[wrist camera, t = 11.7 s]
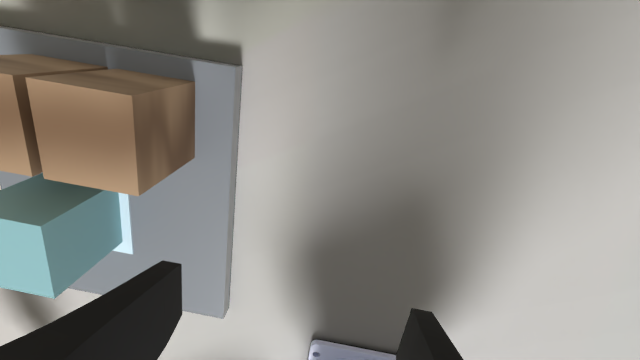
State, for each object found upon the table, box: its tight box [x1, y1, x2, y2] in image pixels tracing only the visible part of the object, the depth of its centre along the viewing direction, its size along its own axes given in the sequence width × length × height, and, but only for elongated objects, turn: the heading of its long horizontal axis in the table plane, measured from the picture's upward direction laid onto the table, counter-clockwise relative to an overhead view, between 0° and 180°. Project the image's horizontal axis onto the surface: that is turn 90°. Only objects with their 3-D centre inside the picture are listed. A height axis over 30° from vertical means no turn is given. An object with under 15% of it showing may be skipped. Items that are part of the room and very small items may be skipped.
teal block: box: [0, 173, 123, 299], centre depth 18 cm, size 4×4×5 cm
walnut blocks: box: [0, 54, 195, 196], centre depth 15 cm, size 4×8×5 cm, turn 82°
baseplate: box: [0, 26, 242, 319], centre depth 20 cm, size 16×14×1 cm
